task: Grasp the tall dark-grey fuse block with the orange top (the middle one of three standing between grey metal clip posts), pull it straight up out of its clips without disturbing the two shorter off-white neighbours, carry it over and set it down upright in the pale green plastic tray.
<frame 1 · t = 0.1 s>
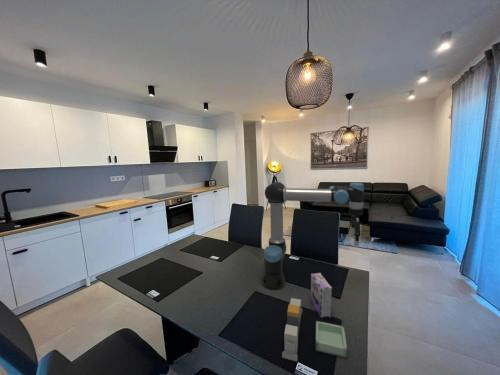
hand: (354, 241, 130), 28 cm above the table, fingers open, 13 cm apart
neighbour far: (295, 318, 106), on the table
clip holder: (293, 332, 98), on the table
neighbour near: (291, 348, 89), on the table
tray: (330, 342, 92), on the table
candy box: (320, 308, 113), on the table
fuse: (293, 332, 98), on the table
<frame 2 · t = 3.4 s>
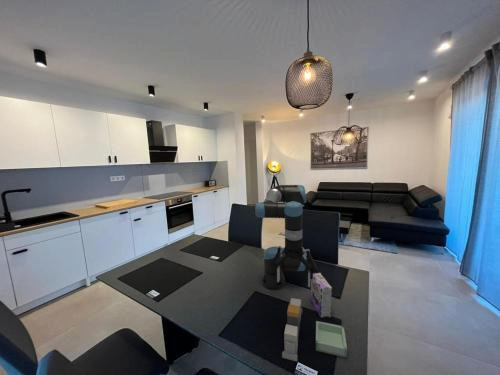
hand: (293, 282, 94), 25 cm above the table, fingers open, 13 cm apart
nothing on the table moved.
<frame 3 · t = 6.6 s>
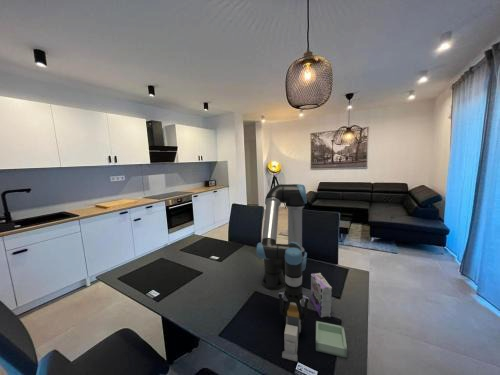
hand: (293, 328, 98), 2 cm above the table, fingers closed on fuse, 5 cm apart
fuse: (293, 332, 98), on the table, touching gripper
everything else where it was.
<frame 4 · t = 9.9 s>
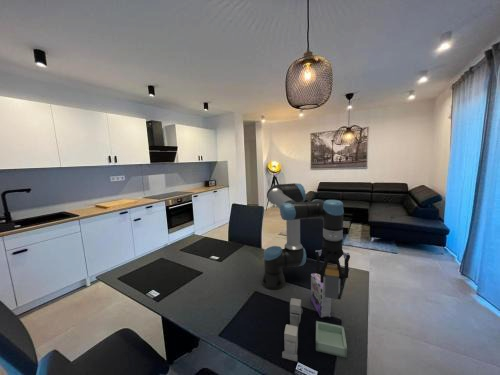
hand: (331, 290, 89), 25 cm above the table, fingers closed on fuse, 5 cm apart
fuse: (331, 294, 89), point 23 cm above the table, touching gripper
everything else where it was.
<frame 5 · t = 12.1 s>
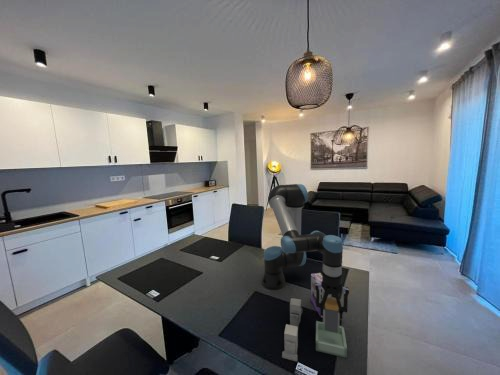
hand: (330, 323, 90), 9 cm above the table, fingers closed on fuse, 5 cm apart
fuse: (330, 327, 91), point 8 cm above the table, touching gripper
everything else where it was.
when the fingers open (4 cm above the table, at t = 13.7 s): fuse drops 2 cm, resting on tray.
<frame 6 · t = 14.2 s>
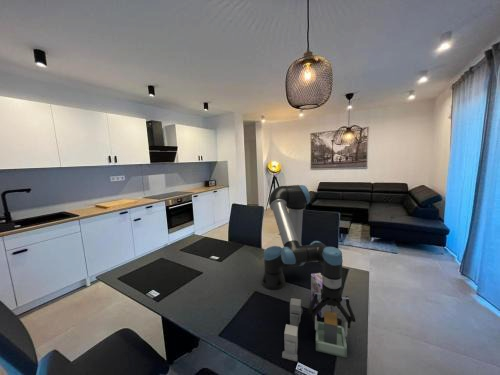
hand: (330, 330, 91), 6 cm above the table, fingers open, 11 cm apart
fuse: (330, 340, 92), point 1 cm above the table, touching tray
everything else where it was.
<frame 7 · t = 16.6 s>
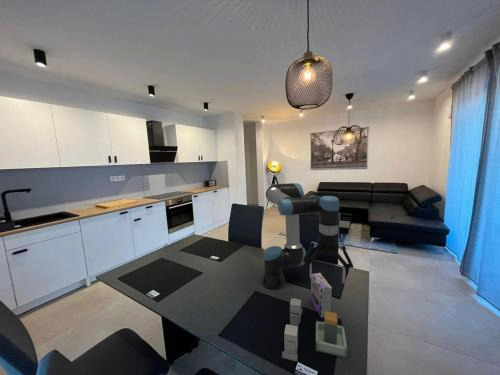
hand: (326, 278, 92), 28 cm above the table, fingers open, 13 cm apart
nothing on the table moved.
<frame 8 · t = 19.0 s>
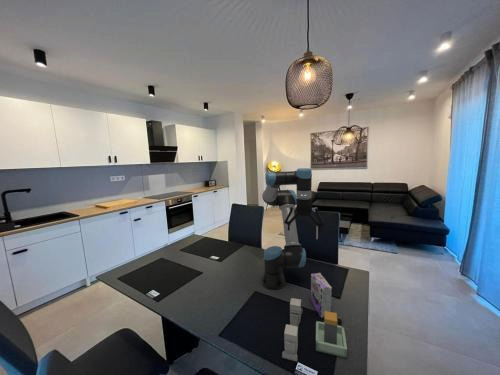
hand: (303, 237, 111), 39 cm above the table, fingers open, 13 cm apart
nothing on the table moved.
at the end: fuse inside the target area on the tray (0.1 cm from its centre), point 0.8 cm above the tray's base; fuse tilted 0°; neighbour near moved 0.0 cm from its start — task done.
